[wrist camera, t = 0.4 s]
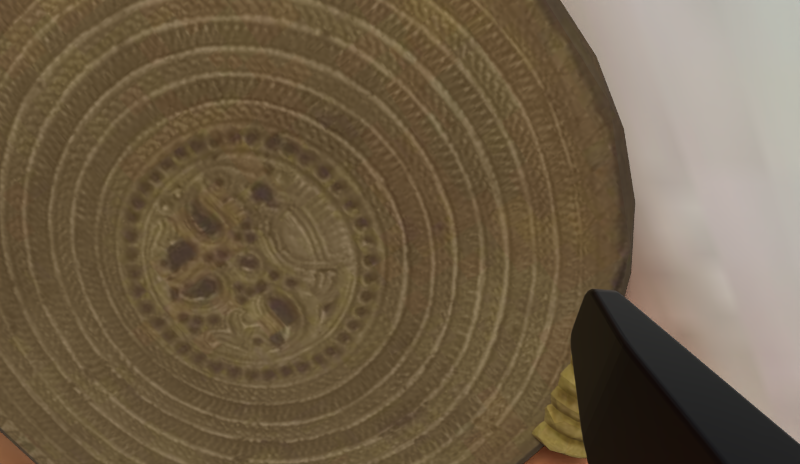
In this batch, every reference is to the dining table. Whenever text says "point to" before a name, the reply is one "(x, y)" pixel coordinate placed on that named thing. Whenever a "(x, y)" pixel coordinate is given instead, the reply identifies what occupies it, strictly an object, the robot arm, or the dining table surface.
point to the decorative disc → (301, 229)
